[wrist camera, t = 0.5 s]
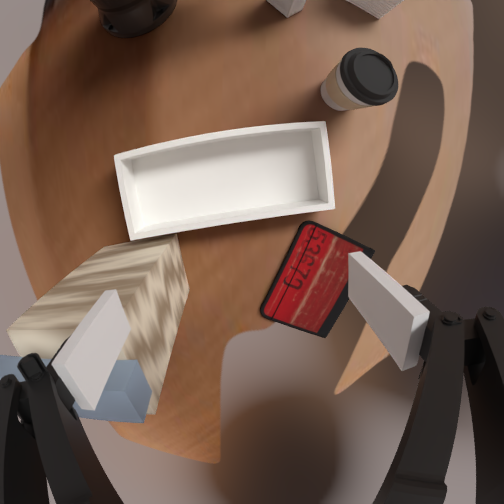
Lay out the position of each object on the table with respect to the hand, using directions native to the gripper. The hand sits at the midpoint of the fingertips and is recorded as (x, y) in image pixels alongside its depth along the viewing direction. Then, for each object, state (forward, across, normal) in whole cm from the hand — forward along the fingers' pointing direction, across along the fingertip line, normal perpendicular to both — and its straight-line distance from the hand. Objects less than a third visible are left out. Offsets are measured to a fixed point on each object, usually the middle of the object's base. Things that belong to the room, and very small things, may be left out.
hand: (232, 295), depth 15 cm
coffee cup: (+35, +22, +17) cm, 44 cm away
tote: (+35, 0, +4) cm, 35 cm away
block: (+4, -23, -9) cm, 25 cm away
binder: (+35, +13, -18) cm, 42 cm away
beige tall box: (+34, -18, -10) cm, 40 cm away
